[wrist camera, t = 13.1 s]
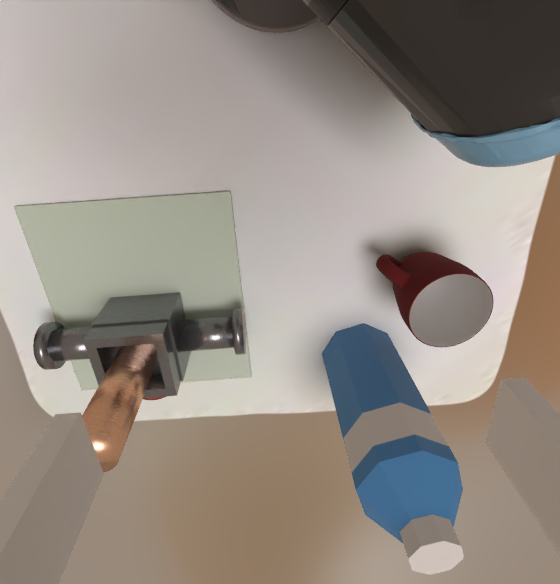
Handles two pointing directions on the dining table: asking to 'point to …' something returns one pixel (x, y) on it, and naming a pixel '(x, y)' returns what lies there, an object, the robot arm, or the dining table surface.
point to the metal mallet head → (141, 338)
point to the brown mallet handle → (118, 401)
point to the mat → (140, 264)
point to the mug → (438, 297)
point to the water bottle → (395, 448)
